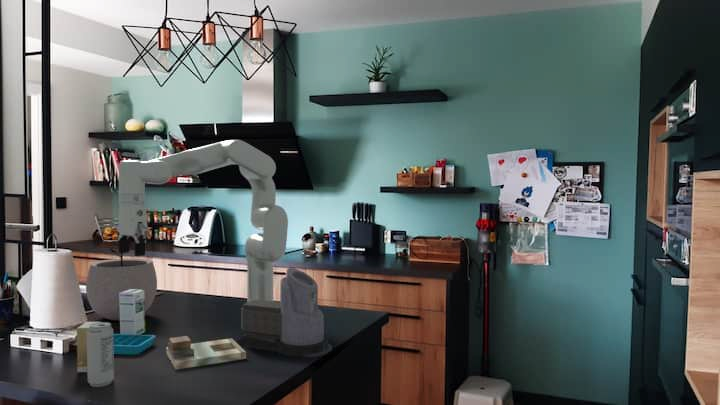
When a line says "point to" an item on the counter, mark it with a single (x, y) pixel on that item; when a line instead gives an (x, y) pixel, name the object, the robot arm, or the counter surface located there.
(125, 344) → the ice cube tray
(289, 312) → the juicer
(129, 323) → the syrup box
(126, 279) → the plant pot
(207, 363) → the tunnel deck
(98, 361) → the energy drink can
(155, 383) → the counter surface
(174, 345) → the walnut block
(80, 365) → the skincare box
